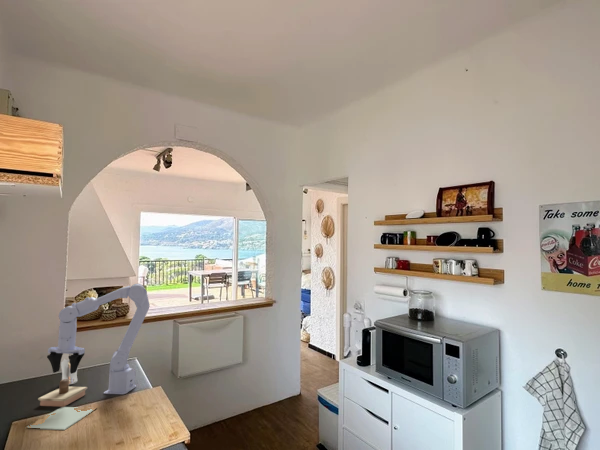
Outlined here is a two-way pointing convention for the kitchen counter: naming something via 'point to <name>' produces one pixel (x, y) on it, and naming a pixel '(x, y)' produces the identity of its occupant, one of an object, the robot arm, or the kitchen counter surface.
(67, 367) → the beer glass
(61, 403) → the dish
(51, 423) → the mat
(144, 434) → the kitchen counter surface
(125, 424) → the kitchen counter surface
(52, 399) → the lid
